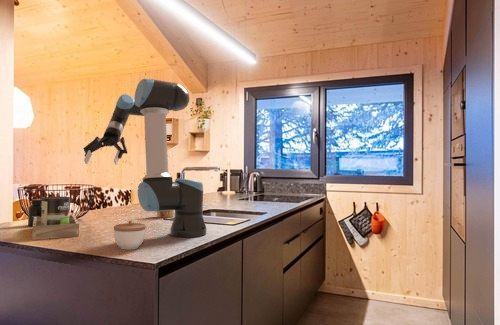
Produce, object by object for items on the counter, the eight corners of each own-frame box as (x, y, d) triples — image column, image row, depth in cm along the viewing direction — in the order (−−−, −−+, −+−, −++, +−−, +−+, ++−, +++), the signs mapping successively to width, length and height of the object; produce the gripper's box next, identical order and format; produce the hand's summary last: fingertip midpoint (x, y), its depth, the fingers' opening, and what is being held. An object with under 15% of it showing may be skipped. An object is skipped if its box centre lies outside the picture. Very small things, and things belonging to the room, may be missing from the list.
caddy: (78, 236, 144) (79, 223, 144) (32, 239, 136) (32, 226, 136) (74, 225, 166) (74, 215, 166) (33, 228, 158) (34, 217, 158)
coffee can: (75, 230, 150) (75, 196, 150) (57, 235, 140) (57, 199, 140) (53, 229, 152) (54, 195, 152) (34, 233, 142) (35, 198, 142)
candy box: (173, 216, 201) (173, 188, 201) (173, 217, 197) (174, 189, 197) (157, 216, 199) (157, 188, 199) (156, 217, 195) (157, 189, 195)
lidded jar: (132, 252, 120) (132, 224, 120) (106, 249, 123) (107, 222, 123) (151, 245, 130) (152, 219, 130) (127, 243, 133) (127, 217, 133)
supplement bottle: (32, 227, 161) (33, 200, 161) (25, 225, 164) (25, 199, 165) (48, 225, 167) (48, 199, 167) (40, 223, 170) (40, 198, 170)
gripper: (139, 138, 182) (129, 168, 167) (90, 137, 182) (75, 167, 167) (136, 126, 177) (125, 156, 162) (86, 126, 177) (70, 155, 162)
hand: (100, 162), depth 164 cm, fingers open, 13 cm apart
